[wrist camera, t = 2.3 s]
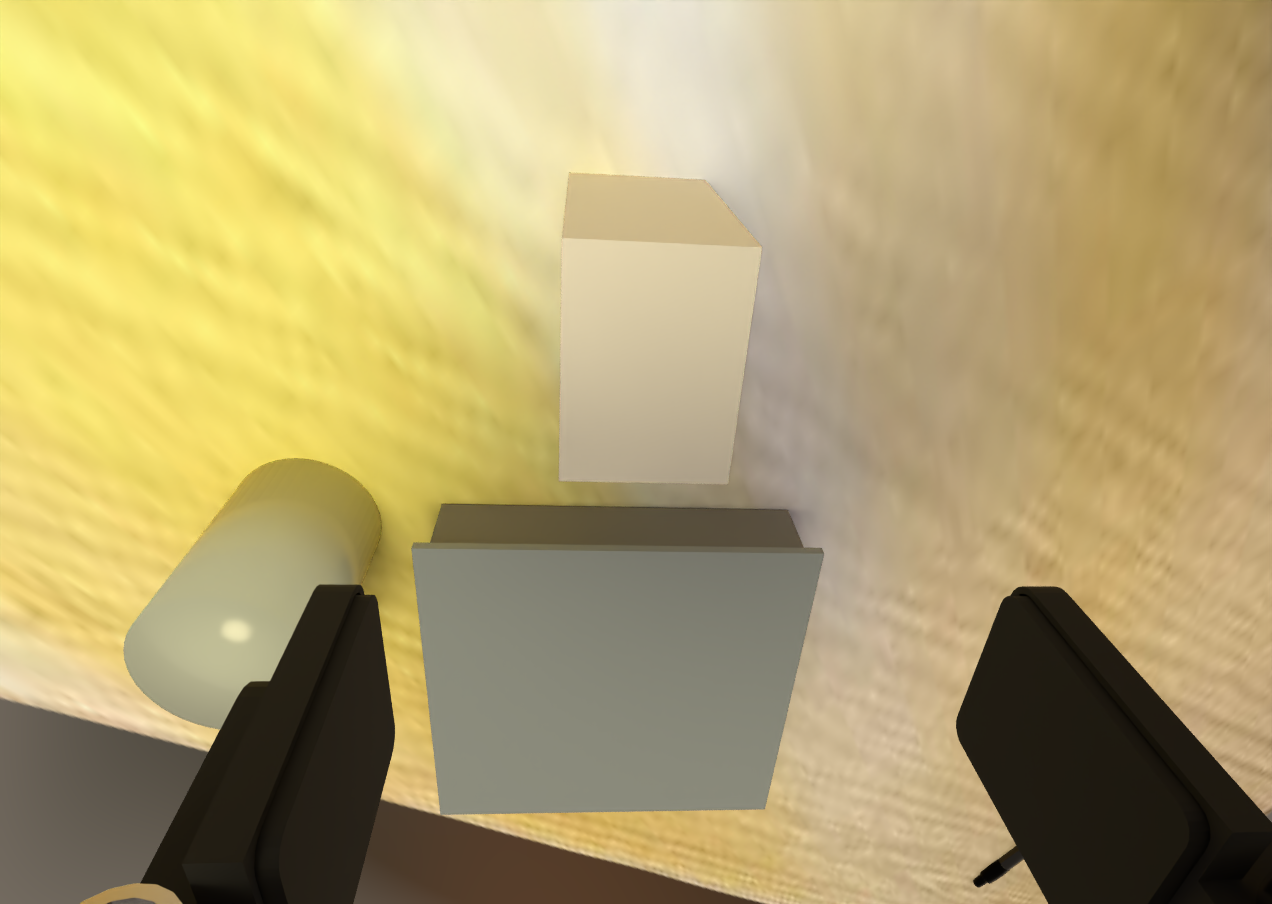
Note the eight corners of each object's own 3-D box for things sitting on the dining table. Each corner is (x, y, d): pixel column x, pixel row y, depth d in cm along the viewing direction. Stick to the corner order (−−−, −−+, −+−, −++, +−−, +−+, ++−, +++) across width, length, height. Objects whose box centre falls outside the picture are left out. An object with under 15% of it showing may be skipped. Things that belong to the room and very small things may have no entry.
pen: (979, 875, 52) (989, 892, 51) (965, 876, 51) (976, 893, 50) (1136, 760, 46) (1151, 776, 46) (1125, 758, 46) (1139, 775, 45)
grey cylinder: (373, 460, 32) (304, 597, 24) (388, 575, 35) (332, 730, 27) (219, 456, 31) (99, 595, 24) (249, 574, 35) (151, 731, 27)
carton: (705, 179, 27) (762, 247, 18) (687, 356, 31) (727, 484, 22) (569, 172, 27) (561, 237, 18) (566, 352, 30) (558, 481, 21)
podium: (799, 501, 34) (824, 553, 31) (750, 746, 43) (764, 809, 39) (429, 494, 33) (411, 548, 29) (452, 749, 41) (440, 814, 38)
